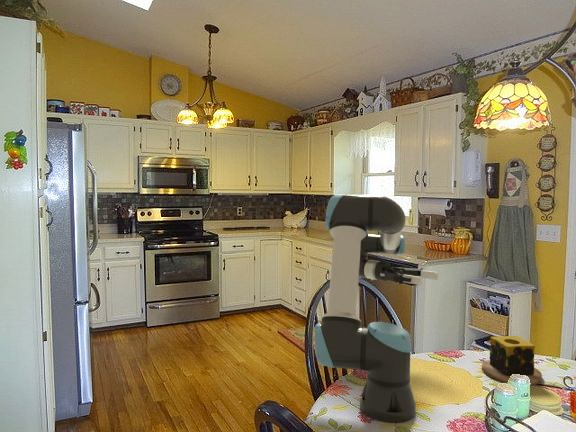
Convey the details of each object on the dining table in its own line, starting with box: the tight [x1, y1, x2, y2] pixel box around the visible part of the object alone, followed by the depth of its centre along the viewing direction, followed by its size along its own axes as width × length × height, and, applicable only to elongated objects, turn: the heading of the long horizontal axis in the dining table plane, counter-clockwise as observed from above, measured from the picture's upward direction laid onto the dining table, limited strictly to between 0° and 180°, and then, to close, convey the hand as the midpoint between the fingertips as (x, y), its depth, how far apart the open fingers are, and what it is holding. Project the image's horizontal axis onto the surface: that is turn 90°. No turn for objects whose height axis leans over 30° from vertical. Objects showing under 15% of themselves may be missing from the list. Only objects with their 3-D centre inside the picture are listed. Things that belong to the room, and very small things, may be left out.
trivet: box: [481, 359, 543, 386], centre depth 145 cm, size 18×18×2 cm
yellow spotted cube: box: [489, 335, 536, 376], centre depth 144 cm, size 10×10×10 cm
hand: (429, 278), depth 155 cm, fingers open, 13 cm apart
